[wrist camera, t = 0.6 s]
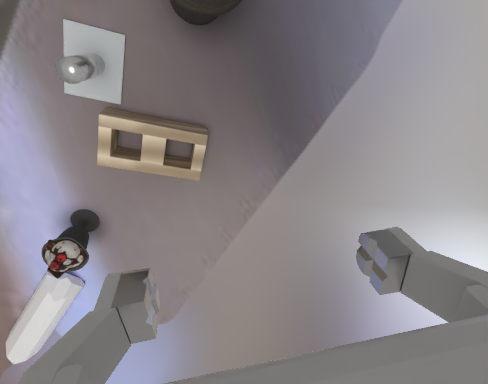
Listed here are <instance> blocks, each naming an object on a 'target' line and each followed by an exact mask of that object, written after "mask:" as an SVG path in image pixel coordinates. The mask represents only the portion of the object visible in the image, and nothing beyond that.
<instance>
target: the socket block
mask: <svg viewBox="0 0 488 384" xmlns="http://www.w3.org/2000/svg"><path fill="white" fill-rule="evenodd" d="M118 130H122V131H127V132H133V133H138V134H143V140H142V150H135V149H129V148H123V147H117V137H118ZM167 139H171V140H176V141H182V142H187V143H193V147H192V153H191V159H188V158H182V157H176V156H170V155H165V151H166V144H167ZM207 139H208V133H207V128H206V127H201V126H196V125H191V124H187V123H182V122H177V121H172V120H167V119H162V118H157V117H152V116H147V115H142V114H137V113H132V112H127V111H122V110H117V109H112V108H106V109H105V110H104V111H103V112H101V113H100V114H99V130H98V160H97V165H100V166H107V167H113V168H120V169H126V170H133V171H140V172H146V173H153V174H159V175H166V176H172V177H179V178H186V179H192V180H199V179H200V174H201V169H202V164H203V159H204V154H205V149H206V144H207Z"/></svg>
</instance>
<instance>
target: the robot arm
mask: <svg viewBox="0 0 488 384" xmlns="http://www.w3.org/2000/svg"><path fill="white" fill-rule="evenodd" d="M358 242H359V243H360V244H361V246H360V248H359V249H358V250H357V255H356V258H357V263H358V266H359V268H360V269H361V271H362V272H363V274H365V275H367V276H369V277H370V283H371V284H372V286H373V287H374V288H375V290H376V291H377V292H378V293H379V294H380V295H382V294H388V293H394V292H400V291H401V293H402V294H404V295H406V296H407V297H409V298H410V299H412V300H413V301H415V302H417V303H418V304H420V305H422V306H423V307H425V308H427V309H428V310H430V311H431V312H433V313H434V314H436V315H438V316H440V317H441V318H443V319H444V320H446V321H447V322H449V323H445V324H440V325H436V326H431V327H426V328H422V329H417V330H412V331H408V332H403V333H398V334H394V335H389V336H384V337H380V338H375V339H370V340H366V341H361V342H356V343H352V344H347V345H342V346H338V347H333V348H328V349H324V350H319V351H314V352H310V353H305V354H300V355H296V356H291V357H287V358H282V359H277V360H272V361H268V362H263V363H258V364H254V365H249V366H245V367H240V368H235V369H231V370H226V371H221V372H216V373H212V374H207V375H202V376H198V377H193V378H188V379H183V380H179V381H175V382H169V383H165V384H488V272H486V271H484V270H481V269H478V268H475V267H473V266H470V265H468V264H465V263H462V262H459V261H457V260H454V259H451V258H449V257H446V256H443V255H440V254H438V253H435V252H433V251H426V250H425V249H424V248H423V247H422V246H420V245H419V244H418V243H417V242H416V241H415V240H413V239H412V238H411V237H410V236H409V235H408V234H407V233H405V232H404V231H403V230H402V229H401V228H398V227H393V228H388V229H384V230H378V231H372V232H367V233H361V235H360V236H359V241H358ZM159 305H160V302H159V291H158V287H157V285H156V284H155V283H154V273H153V270H152V269H151V268H148V269H141V270H134V271H127V272H122V273H114V274H108V275H107V276H106V278H105V281H104V283H103V286H102V289H101V292H100V295H99V298H98V300H97V303H96V306H95V309H94V311H92V312H89V313H88V314H87V315H85V316H84V317H83V318H82V319H81V320H80V321H79V322H78V323H77V324H76V325H75V326H74V327H73V328H71V329H70V330H69V331H68V332H67V333H66V334H65V335H64V336H63V337H62V338H61V339H60V340H59V341H58V342H56V343H55V344H54V345H53V346H52V347H51V348H50V349H49V350H48V351H47V352H46V353H45V354H44V355H42V357H40V358H39V359H38V360H37V361H36V362H35V363H34V364H33V365H32V366H31V367H30V368H29V369H28V370H26V372H24V373H23V375H22V377H21V379H20V381H19V383H18V384H105V382H106V381H107V380H108V378H109V377H110V375H111V374H112V372H113V371H114V369H115V368H116V366H117V365H118V363H119V362H120V361H121V359H122V358H123V356H124V355H125V353H126V352H127V350H128V349H129V347H130V346H131V345H130V344H133V343H138V342H142V341H147V340H151V339H155V338H156V334H157V325H158V321H157V317H156V314H157V313H158V312H159Z"/></svg>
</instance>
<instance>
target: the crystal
mask: <svg viewBox="0 0 488 384" xmlns="http://www.w3.org/2000/svg"><path fill="white" fill-rule="evenodd" d="M84 284H85V283H84V282H83V281H82V280H81V279H80V278H78V277H75V276H73V275H70V274H67V273H64V274H63V275H62V276H61V277H60V278H59V279H57V278H55V277H54V276H53V275H52V274H50V273H49V272H48V271H47V273H46V274H45V276H44V278H43V279H42V281H41V282H40V284H39V286H38V287H37V289H36V291H35V292H34V294H33V295H32V297H31V299H30V300H29V302H28V304H27V305H26V307H25V308H24V310H23V312H22V313H21V315H20V317H19V318H18V320H17V322H16V323H15V325H14V326H13V328H12V330H11V331H10V334H9V336H8V339H7V341H6V353H7V358H8V359H9V360H10V361H11V362H12V363H13V364H16V363H20V362H24V361H26V360H27V359H29V358H30V357H31V356H33V355H34V354H35V353H37V352H38V351H39V350H40V349H41V347H42V346H43V344H44V343H45V342H46V340H47V339H48V338H49V336H50V335H51V333H52V332H53V330H54V329H55V327H56V326H57V324H58V323H59V321H60V320H61V318H62V317H63V315H64V314H65V312H66V311H67V310H68V308H69V307H70V305H71V304H72V302H73V301H74V299H75V298H76V296H77V295H78V293H79V292H80V290H81V289H82V287H83V286H84Z"/></svg>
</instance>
